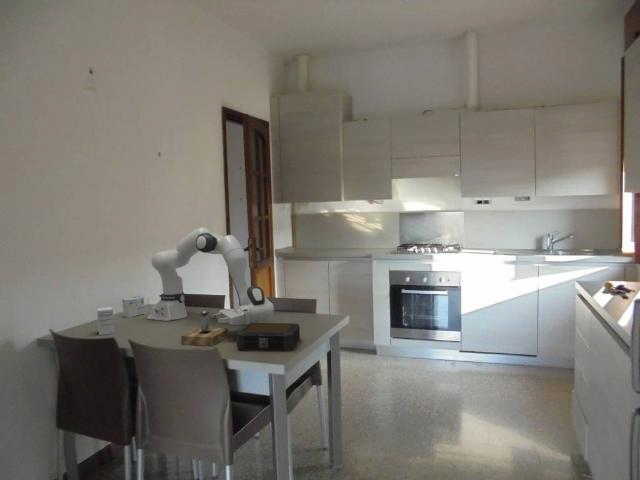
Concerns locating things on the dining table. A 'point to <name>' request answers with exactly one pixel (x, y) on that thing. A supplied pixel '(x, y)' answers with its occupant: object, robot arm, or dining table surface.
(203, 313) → the steel pin
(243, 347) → the cash box
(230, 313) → the robot arm
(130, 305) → the light bulb box
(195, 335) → the block
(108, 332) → the supplement box
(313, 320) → the dining table surface
